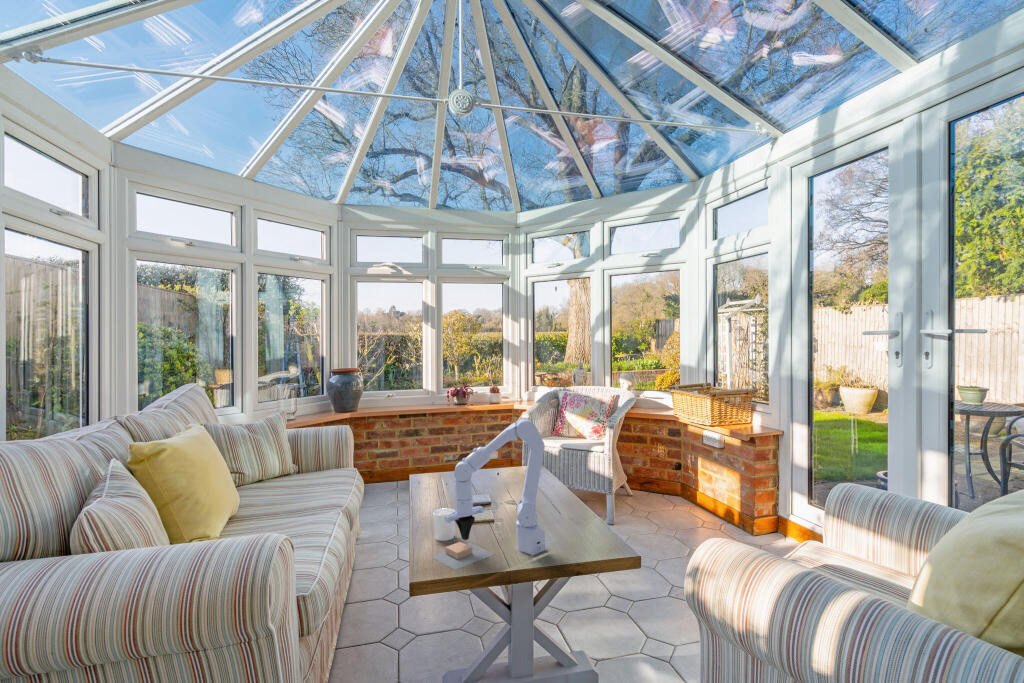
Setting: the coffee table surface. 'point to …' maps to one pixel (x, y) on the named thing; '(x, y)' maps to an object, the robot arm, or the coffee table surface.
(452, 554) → the block
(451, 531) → the white cup
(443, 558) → the felt mat
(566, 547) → the coffee table surface
